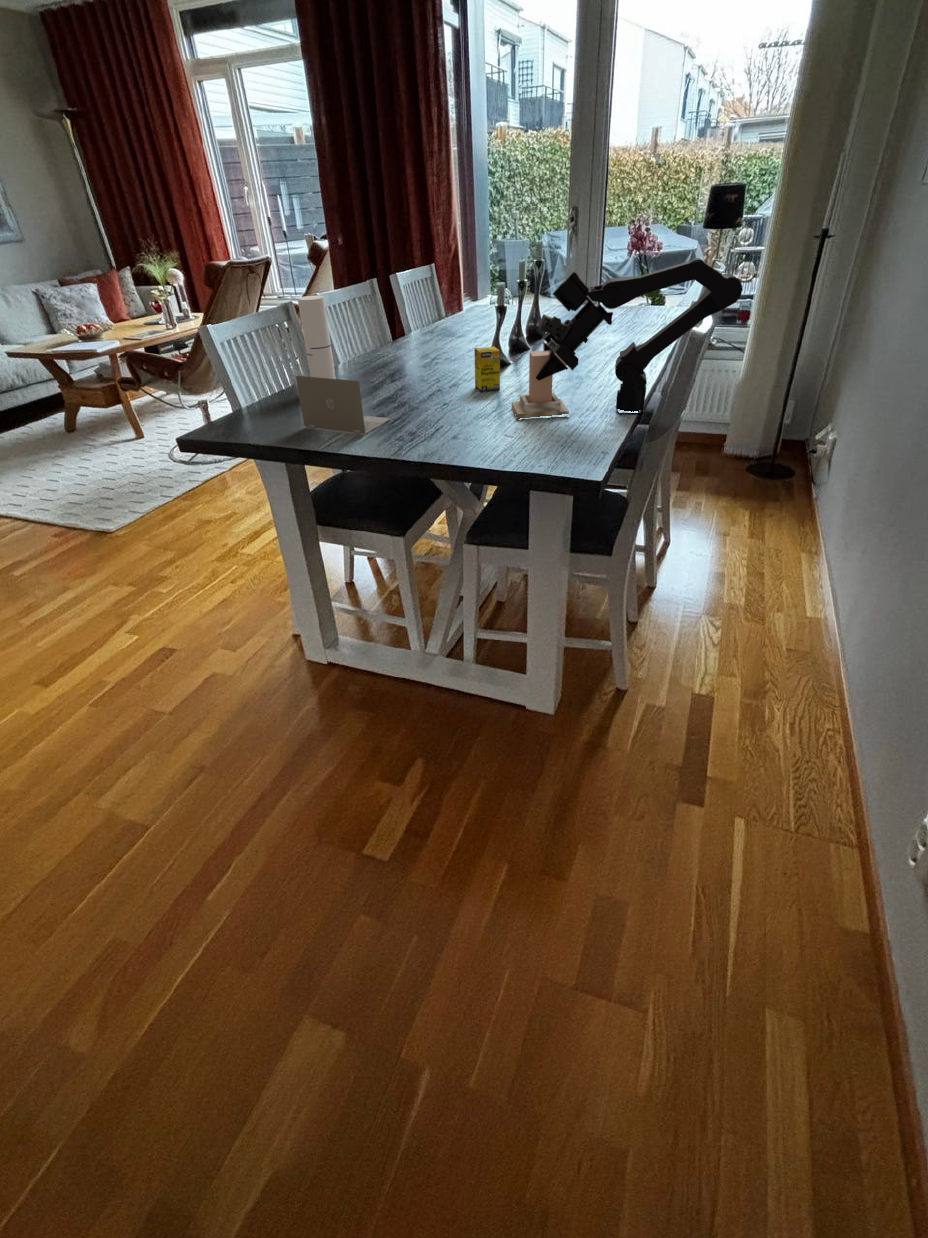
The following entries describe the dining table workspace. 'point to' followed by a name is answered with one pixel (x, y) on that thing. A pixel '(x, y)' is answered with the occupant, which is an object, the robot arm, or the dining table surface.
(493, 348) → the supplement box
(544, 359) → the terracotta peg
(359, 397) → the laptop
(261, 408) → the dining table surface
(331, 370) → the cylindrical container
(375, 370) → the dining table surface
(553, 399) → the plate
